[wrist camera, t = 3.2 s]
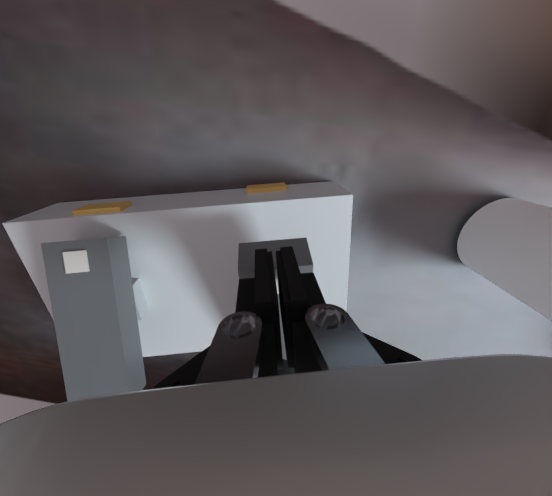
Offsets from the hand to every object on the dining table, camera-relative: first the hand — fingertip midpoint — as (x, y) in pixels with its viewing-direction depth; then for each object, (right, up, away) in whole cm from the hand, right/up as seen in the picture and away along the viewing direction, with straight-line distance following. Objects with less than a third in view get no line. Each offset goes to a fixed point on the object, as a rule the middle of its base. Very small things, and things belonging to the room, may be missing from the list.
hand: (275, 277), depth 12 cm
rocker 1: (-11, -3, +5) cm, 12 cm away
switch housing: (-6, 0, +12) cm, 13 cm away
